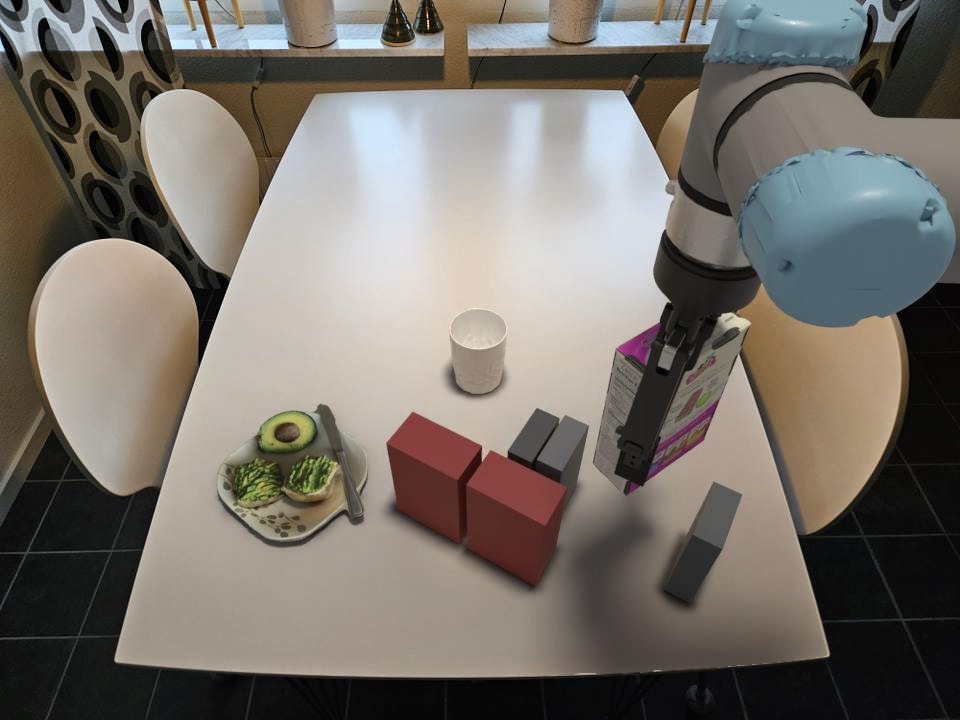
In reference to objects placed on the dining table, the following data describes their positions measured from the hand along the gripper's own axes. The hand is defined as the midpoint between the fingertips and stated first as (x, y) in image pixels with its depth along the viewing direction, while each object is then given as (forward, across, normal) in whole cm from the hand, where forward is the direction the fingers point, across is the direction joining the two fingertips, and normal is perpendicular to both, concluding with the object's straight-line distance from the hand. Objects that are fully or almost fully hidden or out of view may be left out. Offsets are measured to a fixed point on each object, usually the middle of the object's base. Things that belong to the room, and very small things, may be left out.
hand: (654, 428), depth 61 cm
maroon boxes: (+22, +8, -15) cm, 28 cm away
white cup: (+22, -13, -27) cm, 37 cm away
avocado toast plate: (+22, +13, -39) cm, 46 cm away
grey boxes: (+22, 0, -2) cm, 22 cm away
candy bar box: (+4, 0, 0) cm, 4 cm away
